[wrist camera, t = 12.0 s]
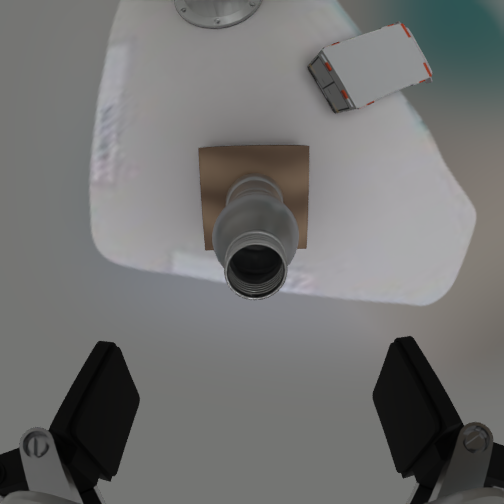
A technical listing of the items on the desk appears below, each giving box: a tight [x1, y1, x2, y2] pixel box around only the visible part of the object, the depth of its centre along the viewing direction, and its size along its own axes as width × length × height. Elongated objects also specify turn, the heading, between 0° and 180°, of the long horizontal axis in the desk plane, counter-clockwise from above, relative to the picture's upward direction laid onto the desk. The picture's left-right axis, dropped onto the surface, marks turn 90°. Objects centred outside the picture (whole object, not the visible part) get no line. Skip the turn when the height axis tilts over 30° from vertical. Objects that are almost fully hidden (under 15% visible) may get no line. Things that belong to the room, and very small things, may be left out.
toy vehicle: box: [308, 21, 432, 113], centre depth 29 cm, size 10×17×10 cm, turn 121°
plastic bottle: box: [212, 173, 299, 300], centre depth 26 cm, size 6×7×20 cm
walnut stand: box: [199, 145, 309, 250], centre depth 38 cm, size 13×13×6 cm
